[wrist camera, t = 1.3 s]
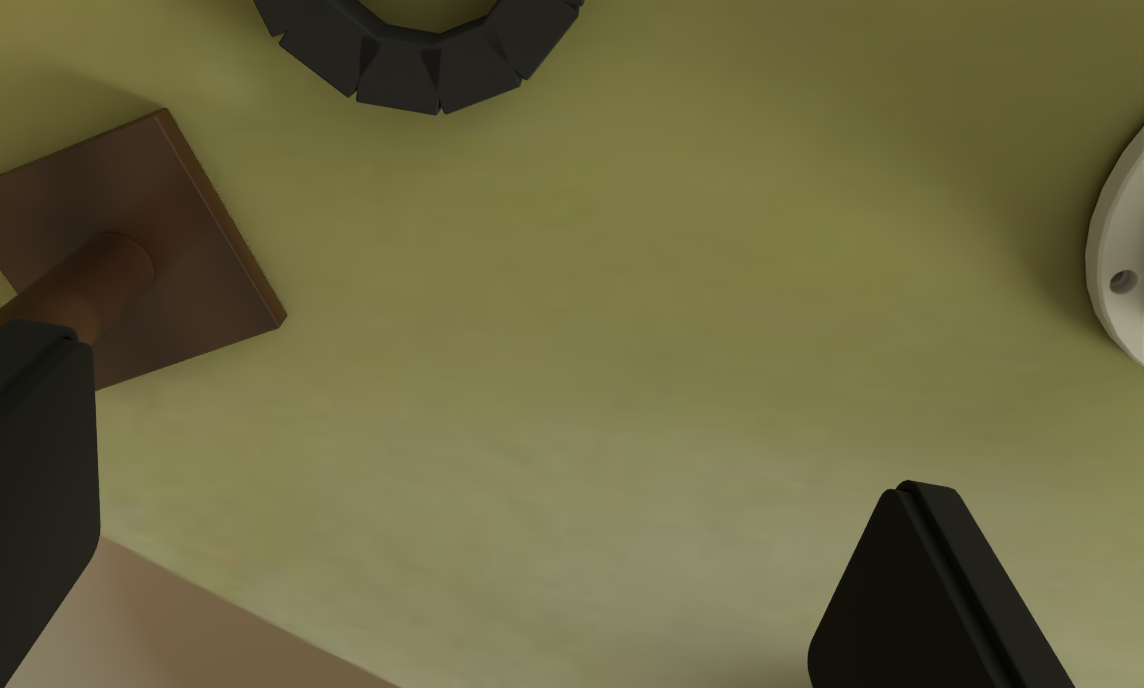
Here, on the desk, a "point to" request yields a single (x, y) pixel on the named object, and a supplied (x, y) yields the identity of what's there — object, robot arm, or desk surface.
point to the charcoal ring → (419, 50)
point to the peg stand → (130, 251)
